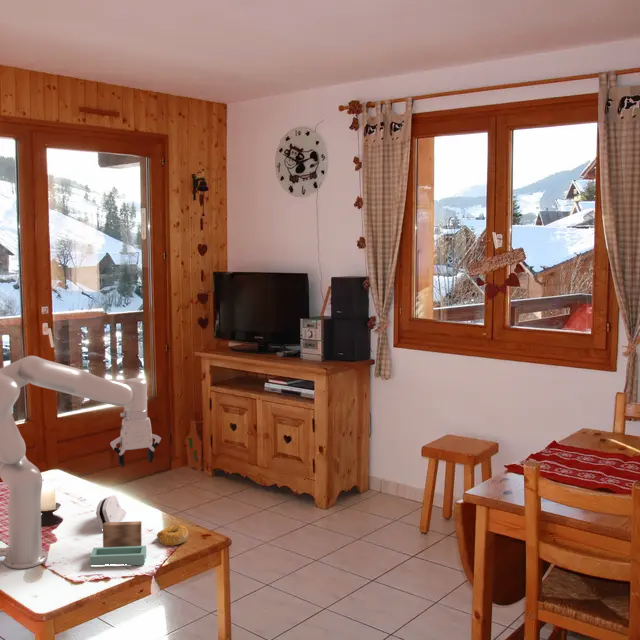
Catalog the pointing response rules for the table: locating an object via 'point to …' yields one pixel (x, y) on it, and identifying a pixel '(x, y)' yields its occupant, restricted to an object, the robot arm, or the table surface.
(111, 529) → the brown wooden board
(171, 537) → the bagel
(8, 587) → the table surface
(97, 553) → the green rectangular tray
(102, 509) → the white curved piece
